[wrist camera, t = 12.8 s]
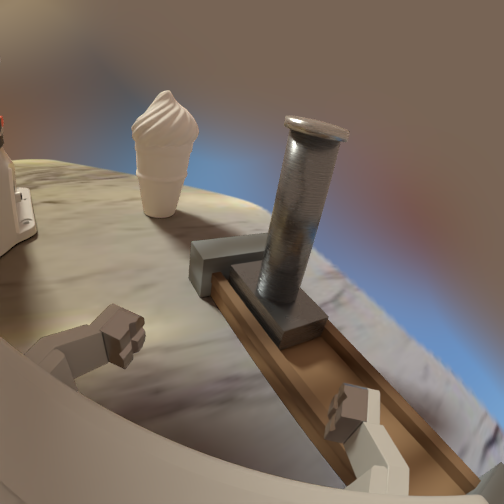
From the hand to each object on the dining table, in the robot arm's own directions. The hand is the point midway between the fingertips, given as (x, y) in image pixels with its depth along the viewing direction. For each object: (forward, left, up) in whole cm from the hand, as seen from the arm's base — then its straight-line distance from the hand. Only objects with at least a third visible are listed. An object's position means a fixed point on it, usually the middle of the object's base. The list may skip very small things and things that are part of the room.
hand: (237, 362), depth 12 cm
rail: (-1, +8, -9) cm, 12 cm away
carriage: (-8, +8, -7) cm, 14 cm away
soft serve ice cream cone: (-32, +6, -9) cm, 33 cm away
